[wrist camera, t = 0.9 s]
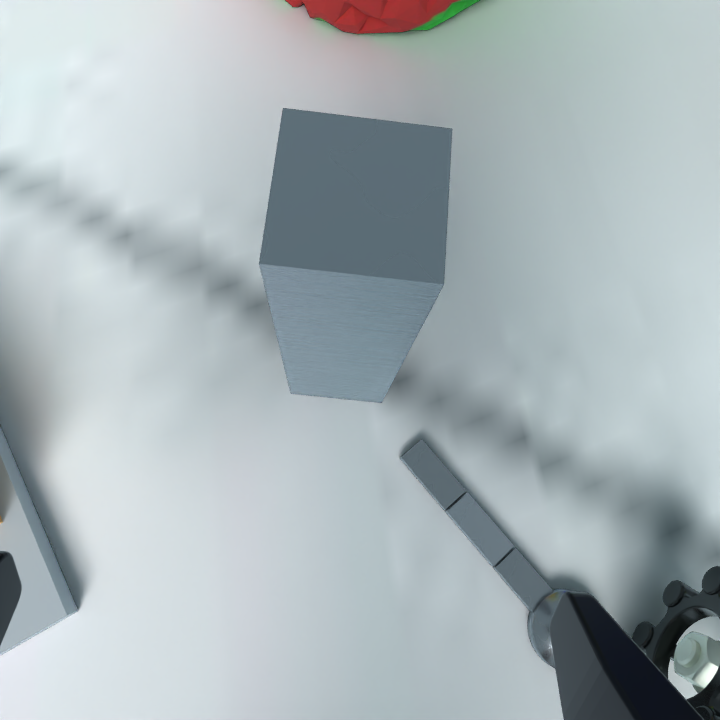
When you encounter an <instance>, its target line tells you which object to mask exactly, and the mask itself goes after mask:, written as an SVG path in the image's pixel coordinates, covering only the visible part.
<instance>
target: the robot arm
mask: <svg viewBox="0 0 720 720" xmlns="http://www.w3.org/2000/svg"><path fill="white" fill-rule="evenodd" d="M21 591H22V584H21V580H20V577H19V574H18V571H17V568H16V565H15V562H14V558H13V556H12V554H11V553H9V552H8V551H0V646H1V644H2V641H3V639H4V636H5V634H6V631H7V629H8V627H9V624H10V622H11V619H12V617H13V614H14V612H15V609H16V607H17V604H18V602H19V599H20V596H21ZM550 638H551V644H552V650H553V657H554V663H555V669H556V675H557V681H558V687H559V693H560V700H561V706H562V712H563V718H564V720H704V719H703V718H702V717H701V716H700V715H699V713H698V712H697V711H696V710H695V709H694V708H693V707H692V706H691V705H690V703H689V702H688V701H687V700H686V699H685V698H684V697H683V696H682V694H681V693H680V692H679V691H678V690H677V689H676V688H675V687H674V686H673V684H672V683H671V682H670V681H669V680H668V679H667V678H666V677H665V676H664V674H663V673H662V672H661V671H660V670H659V669H658V668H657V667H656V666H655V664H654V663H653V662H652V661H651V660H650V659H649V658H648V657H647V656H646V654H645V653H644V652H643V651H642V650H641V649H640V648H639V647H638V646H637V644H636V643H635V642H634V641H633V640H632V639H631V638H630V637H629V636H628V634H627V633H626V632H625V631H624V630H623V629H622V628H621V627H620V625H619V624H618V623H617V622H616V621H615V620H614V619H613V618H612V617H611V615H610V614H609V613H608V612H607V611H606V610H605V609H604V608H603V607H602V605H601V604H600V603H599V602H598V601H597V600H596V599H595V598H594V597H593V596H592V595H591V594H589V593H586V592H575V591H566V592H565V593H563V594H562V596H561V598H560V600H559V603H558V605H557V607H556V609H555V612H554V614H553V616H552V618H551V622H550Z"/></svg>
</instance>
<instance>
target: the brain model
mask: <svg viewBox="0 0 720 720" xmlns="http://www.w3.org/2000/svg"><path fill="white" fill-rule="evenodd" d="M286 1H287V2H288V3H289V4H290V5H291V6H292V7H299V6H301V5H302V4H303V3H304V4H305V6H306V9H307V11H308V14H309V16H310V17H311V18H315V19H319V20H323V21H326V22H328V23H330V24H331V25H333V26H335V27H337V28H338V29H340V30H342V31H344V32H350V33H356V34H361V33H388V32H405V31H409V30H429V29H431V28H433V27H434V26H436V25H438V24H440V23H442V22H444V21H445V20H447V19H449V18H451V17H453V16H454V15H456V14H458V13H459V12H461V11H462V10H464V9H466V8H467V7H469V6H471V5H473V4H474V3H476V2H478V1H480V0H286Z"/></svg>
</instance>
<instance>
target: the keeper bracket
mask: <svg viewBox="0 0 720 720" xmlns="http://www.w3.org/2000/svg"><path fill="white" fill-rule="evenodd" d="M0 551H8V552H9V553H11V554H12V556H13V558H14V562H15V565H16V568H17V571H18V574H19V577H20V580H21V584H22V591H21V596H20V599H19V602H18V604H17V607H16V609H15V612H14V614H13V617H12V619H11V622H10V624H9V627H8V629H7V631H6V634H5V636H4V639H3V641H2V644H1V646H0V655H2V654H4V653H6V652H7V651H9V650H11V649H13V648H14V647H16V646H18V645H20V644H21V643H23V642H25V641H27V640H28V639H30V638H32V637H34V636H35V635H37V634H39V633H41V632H42V631H44V630H46V629H48V628H49V627H51V626H53V625H55V624H56V623H58V622H60V621H62V620H63V619H65V618H67V617H69V616H70V615H72V614H74V613H76V612H77V611H78V609H77V607H76V604H75V602H74V600H73V597H72V595H71V593H70V590H69V588H68V585H67V583H66V581H65V578H64V576H63V573H62V571H61V569H60V566H59V564H58V562H57V559H56V557H55V554H54V552H53V550H52V547H51V545H50V543H49V540H48V538H47V535H46V533H45V531H44V528H43V526H42V524H41V521H40V519H39V516H38V514H37V512H36V509H35V507H34V505H33V502H32V500H31V497H30V495H29V493H28V490H27V488H26V486H25V483H24V481H23V478H22V476H21V474H20V471H19V469H18V467H17V464H16V462H15V459H14V457H13V455H12V452H11V450H10V448H9V445H8V443H7V440H6V438H5V436H4V433H3V431H2V429H1V426H0Z"/></svg>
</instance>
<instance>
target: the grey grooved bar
mask: <svg viewBox="0 0 720 720" xmlns="http://www.w3.org/2000/svg"><path fill="white" fill-rule="evenodd" d="M400 459H401V460H402V462H403V463H404V464H405V465H406V466H407V467H408V469H409V470H410V471H411V472H412V473H413V475H414V476H415V477H416V478H417V479H418V480H419V482H420V483H421V484H422V485H423V486H424V487H425V489H426V490H427V491H428V492H429V493H430V494H431V496H432V497H433V498H434V499H435V500H436V502H437V503H438V504H439V505H440V506H441V507H442V509H443V510H446V509H447V508H448V507H449V506H450V505H451V504H452V503H453V502H454V501H455V500H456V499H458V498H459V497H460V496H461V495H462V494H463V493H464V492H465V491H466V489H465V488H464V487H463V486H462V485H461V484H460V483H459V481H458V480H457V479H456V478H455V477H454V476H453V474H452V473H451V472H450V471H449V470H448V469H447V468H446V466H445V465H444V464H443V463H442V462H441V461H440V459H439V458H438V457H437V456H436V455H435V454H434V453H433V451H432V450H431V449H430V448H429V447H428V446H427V444H426V443H425V442H424V441H423V440H422V439H421V440H420V441H419V442H418V443H417V444H415V445H414V446H413V447H412V448H411V449H410V450H409V451H407V452H406V453H405V454H404V455H403V456H402V457H401V458H400ZM445 512H446V513H447V514H448V516H449V517H450V518H451V519H452V520H453V521H454V523H455V524H456V525H457V526H458V527H459V529H460V530H461V531H462V532H463V533H464V534H465V536H466V537H467V538H468V539H469V540H470V541H471V543H472V544H473V545H474V546H475V547H476V548H477V550H478V551H479V552H480V553H481V554H482V556H483V557H484V558H485V559H486V560H487V561H488V563H489V564H490V565H492V566H493V568H494V570H495V571H496V572H497V573H498V574H499V575H500V577H501V578H502V579H503V580H504V581H505V583H506V584H507V585H508V586H509V587H510V588H511V590H512V591H513V592H514V593H515V594H516V595H517V597H518V598H519V599H520V600H521V601H522V602H523V604H524V605H525V606H526V607H527V608H528V610H529V611H530V614H529V618H528V634H529V638H530V642H531V644H532V646H533V648H534V650H535V652H536V653H537V654H538V656H539V657H540V658H541V659H542V660H543V661H544V662H546V663H547V664H549V665H550V666H552V667H553V668H555V663H554V657H553V650H552V644H551V638H550V622H551V618H552V616H553V614H554V612H555V609H556V607H557V605H558V603H559V600H560V598H561V596H562V594H563V593H565V592H566V591H571V590H567V589H554V590H552V589H551V587H550V586H549V585H548V584H547V583H546V582H545V581H544V579H543V578H542V577H541V576H540V575H539V574H538V572H537V571H536V570H535V569H534V568H533V567H532V566H531V564H530V563H529V562H528V561H527V560H526V559H525V557H524V556H523V555H522V554H521V553H520V552H519V551H518V549H517V548H515V547H514V545H513V544H512V542H511V541H510V540H509V539H508V538H507V537H506V536H505V534H504V533H503V532H502V531H501V530H500V529H499V528H498V526H497V525H496V524H495V523H494V522H493V521H492V519H491V518H490V517H489V516H488V515H487V514H486V513H485V511H484V510H483V509H482V508H481V507H480V506H479V504H478V503H477V502H476V501H475V500H474V499H473V498H472V496H471V495H470V494H469V493H468V492H467V493H465V494H464V495H463V496H461V497H460V498H459V499H458V500H457V501H456V502H455V503H454V504H453V505H452V506H451V507H450V508H448V509H447V510H446V511H445Z"/></svg>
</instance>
